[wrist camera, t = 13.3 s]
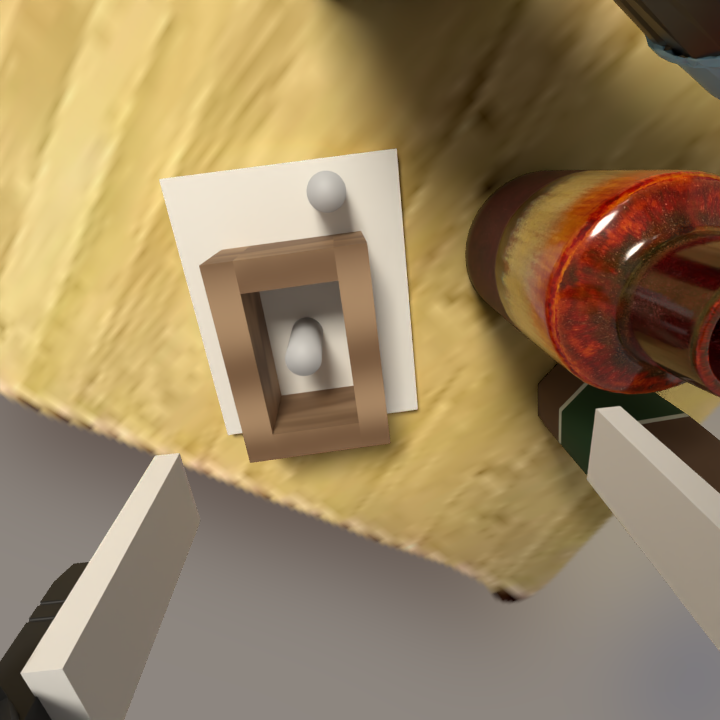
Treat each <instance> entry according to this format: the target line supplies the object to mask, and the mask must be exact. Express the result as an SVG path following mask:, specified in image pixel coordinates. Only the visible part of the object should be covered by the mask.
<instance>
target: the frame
mask: <svg viewBox="0 0 720 720" xmlns="http://www.w3.org/2000/svg"><path fill="white" fill-rule="evenodd" d="M199 268H200V272H201V276H202V279H203V283H204V287H205V291H206V295H207V299H208V302H209V306H210V310H211V314H212V318H213V322H214V325H215V329H216V333H217V337H218V341H219V345H220V349H221V352H222V356H223V360H224V364H225V368H226V372H227V375H228V379H229V383H230V387H231V391H232V395H233V398H234V402H235V406H236V410H237V414H238V418H239V422H240V425H241V429H242V433H243V437H244V441H245V445H246V448H247V452H248V456H249V460H250V463H252V462H259V461H267V460H274V459H281V458H288V457H295V456H303V455H310V454H317V453H324V452H331V451H339V450H346V449H353V448H360V447H367V446H375V445H382V444H389V443H390V435H389V427H388V418H387V410H386V401H385V392H384V384H383V375H382V366H381V358H380V349H379V341H378V332H377V323H376V315H375V306H374V297H373V289H372V280H371V272H370V263H369V254H368V246H367V242H366V240H365V238H364V236H363V234H362V232H361V231H356V232H349V233H341V234H334V235H326V236H319V237H312V238H304V239H297V240H290V241H282V242H275V243H268V244H260V245H253V246H245V247H238V248H231V249H223V250H220V251H219V252H218V253H216V254H215V255H213V256H212V257H211V258H209V259H208V260H206V261H205V262H203V263H202V264H201V265H199ZM332 281H339V288H340V295H341V302H342V309H343V316H344V323H345V330H346V337H347V344H348V351H349V358H350V365H351V372H352V378H353V385H354V386H347V387H340V388H332V389H325V390H318V391H311V392H303V393H296V394H289V395H282V396H281V391H280V386H279V382H278V377H277V372H276V368H275V363H274V358H273V354H272V349H271V344H270V339H269V335H268V330H267V325H266V321H265V316H264V311H263V307H262V302H261V297H260V293H259V291H266V290H274V289H281V288H288V287H296V286H303V285H310V284H318V283H325V282H332Z"/></svg>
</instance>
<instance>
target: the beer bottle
mask: <svg viewBox="0 0 720 720" xmlns="http://www.w3.org/2000/svg"><path fill="white" fill-rule="evenodd" d="M616 406H621V407H622V408H623V409H624V410H625V411H626V412H627V413H629V414H630V415H631V416H632V417H633V418H634V419H635V420H636V421H638V422H639V423H640V424H641V425H642V426H643V427H644V428H646V429H647V430H648V431H649V432H650V433H651V434H652V435H654V436H655V437H656V438H657V439H658V440H659V441H660V442H662V443H663V444H664V445H665V446H666V447H667V448H668V449H670V450H671V451H672V452H673V453H674V454H675V455H676V456H677V457H679V458H680V459H681V460H682V461H683V462H684V463H685V464H687V465H688V466H689V467H690V468H691V469H692V470H693V471H695V472H696V473H697V474H698V475H699V476H700V477H701V478H703V479H704V480H705V481H706V482H707V483H708V484H709V485H710V486H712V487H713V488H714V489H715V490H716V491H717V492H718V493H720V440H718V439H717V438H716V437H715V436H713V435H712V434H711V433H710V432H709V431H707V430H706V429H705V428H704V427H702V426H701V425H700V424H699V423H697V422H696V421H695V420H694V419H692V418H691V417H690V416H689V415H687V414H686V413H684V412H683V411H681V410H680V409H678V408H677V407H675V406H674V405H672V404H671V403H669V402H668V401H667V400H665V399H664V398H662V397H661V396H659V395H658V394H656V393H655V392H653V393H647V394H619V393H611V392H608V391H604V390H601V389H597V388H595V387H593V386H591V385H589V384H587V383H585V382H583V381H581V380H580V379H578V378H577V377H576V376H574V375H573V374H572V373H570V372H569V371H568V370H566V369H565V368H564V367H563V366H561V365H560V364H559V363H558V364H557V365H556V366H555V367H554V368H553V369H552V370H551V371H550V372H549V374H548V375H547V376H546V377H545V378H544V379H543V380H542V381H541V382H540V383H539V384H538V416H539V417H540V419H541V420H542V422H543V423H544V425H545V426H546V427H547V428H548V430H549V431H550V432H551V433H552V434H553V436H554V437H555V438H556V439H557V440H558V442H559V443H560V444H561V445H562V446H563V447H564V449H565V450H566V451H567V452H568V453H569V455H570V456H571V457H572V458H573V459H574V460H575V462H576V463H577V464H578V465H579V466H580V468H581V469H582V470H583V471H584V472H585V474H586V475H587V474H588V466H589V458H590V450H591V442H592V434H593V426H594V419H595V411H596V409H598V408H607V407H616Z"/></svg>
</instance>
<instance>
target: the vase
mask: <svg viewBox="0 0 720 720" xmlns="http://www.w3.org/2000/svg"><path fill="white" fill-rule="evenodd" d="M465 255H466V266H467V270H468V274H469V277H470V280H471V282H472V284H473V286H474V288H475V290H476V291H477V293H478V294H479V295H480V296H481V297H482V299H483V300H484V301H485V302H486V303H487V304H489V305H490V306H491V307H492V308H493V309H494V310H496V311H497V312H498V313H499V314H500V315H502V316H503V317H504V318H505V319H506V320H507V321H509V322H510V323H511V324H512V325H513V326H515V327H516V328H517V329H518V330H519V331H521V332H522V333H523V334H524V335H525V336H526V337H528V338H529V339H530V340H531V341H532V342H534V343H535V344H536V345H537V346H538V347H540V348H541V349H542V350H543V351H544V352H546V353H547V354H548V355H549V356H550V357H552V358H553V359H554V360H555V361H556V362H558V363H559V364H560V365H561V366H563V367H564V368H565V369H566V370H568V371H569V372H570V373H572V374H573V375H574V376H576V377H577V378H578V379H580V380H581V381H583V382H585V383H587V384H589V385H591V386H593V387H595V388H597V389H601V390H604V391H608V392H611V393H619V394H647V393H653V392H658V391H662V390H666V389H669V388H672V387H675V386H678V385H681V384H683V383H685V382H688V383H690V384H692V385H694V386H696V387H698V388H700V389H702V390H704V391H707V392H709V393H711V394H713V395H716V396H718V397H720V175H717V174H714V173H709V172H703V171H697V170H555V171H537V172H532V173H528V174H525V175H522V176H519V177H517V178H515V179H513V180H511V181H509V182H508V183H506V184H504V185H503V186H502V187H500V188H499V189H498V190H496V191H495V192H494V193H493V194H492V195H491V196H490V197H489V198H488V199H487V200H486V201H485V203H484V204H483V205H482V207H481V208H480V209H479V211H478V213H477V215H476V216H475V218H474V220H473V222H472V225H471V227H470V230H469V233H468V238H467V242H466V253H465Z"/></svg>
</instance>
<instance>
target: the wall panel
mask: <svg viewBox="0 0 720 720" xmlns="http://www.w3.org/2000/svg"><path fill="white" fill-rule="evenodd" d="M159 181H160V184H161V188H162V192H163V196H164V199H165V203H166V207H167V210H168V214H169V218H170V222H171V225H172V229H173V233H174V236H175V240H176V244H177V247H178V251H179V255H180V259H181V262H182V266H183V270H184V273H185V277H186V281H187V285H188V288H189V292H190V296H191V299H192V303H193V307H194V310H195V314H196V318H197V322H198V325H199V329H200V333H201V336H202V340H203V344H204V348H205V351H206V355H207V359H208V362H209V366H210V370H211V373H212V377H213V381H214V385H215V388H216V392H217V396H218V399H219V403H220V407H221V411H222V414H223V418H224V422H225V425H226V429H227V433H228V435H231V434H239V433H242V429H241V425H240V422H239V418H238V414H237V410H236V406H235V402H234V398H233V395H232V391H231V387H230V383H229V379H228V375H227V372H226V368H225V364H224V360H223V356H222V352H221V349H220V345H219V341H218V337H217V333H216V329H215V325H214V322H213V318H212V314H211V310H210V306H209V302H208V299H207V295H206V291H205V287H204V283H203V279H202V276H201V272H200V268H199V265H201V264H202V263H203V262H205V261H206V260H208V259H209V258H211V257H212V256H213V255H215V254H216V253H218V252H219V251H220V250H223V249H231V248H238V247H245V246H253V245H260V244H268V243H275V242H282V241H290V240H297V239H304V238H312V237H319V236H326V235H334V234H341V233H349V232H356V231H361V232H362V234H363V236H364V238H365V240H366V242H367V246H368V254H369V263H370V272H371V280H372V289H373V297H374V306H375V315H376V323H377V332H378V341H379V349H380V358H381V366H382V375H383V384H384V392H385V401H386V410H387V413H395V412H402V411H410V410H417V409H418V406H417V393H416V381H415V369H414V356H413V344H412V332H411V319H410V307H409V295H408V282H407V270H406V258H405V245H404V233H403V220H402V208H401V196H400V183H399V171H398V159H397V148H396V149H388V150H381V151H373V152H365V153H358V154H350V155H342V156H334V157H327V158H319V159H311V160H304V161H296V162H288V163H281V164H273V165H265V166H258V167H250V168H242V169H234V170H227V171H219V172H211V173H204V174H196V175H188V176H181V177H173V178H165V179H159ZM259 293H260V297H261V302H262V307H263V311H264V316H265V321H266V325H267V330H268V335H269V339H270V344H271V349H272V354H273V358H274V363H275V368H276V372H277V377H278V382H279V386H280V391H281V396H282V395H289V394H296V393H303V392H311V391H318V390H325V389H332V388H340V387H347V386H354V385H353V378H352V372H351V365H350V358H349V351H348V344H347V337H346V330H345V323H344V316H343V309H342V302H341V295H340V288H339V281H332V282H325V283H318V284H310V285H303V286H296V287H288V288H281V289H274V290H266V291H259Z"/></svg>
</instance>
